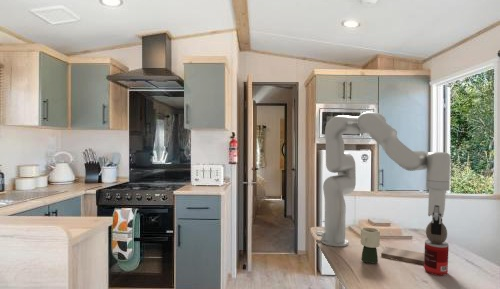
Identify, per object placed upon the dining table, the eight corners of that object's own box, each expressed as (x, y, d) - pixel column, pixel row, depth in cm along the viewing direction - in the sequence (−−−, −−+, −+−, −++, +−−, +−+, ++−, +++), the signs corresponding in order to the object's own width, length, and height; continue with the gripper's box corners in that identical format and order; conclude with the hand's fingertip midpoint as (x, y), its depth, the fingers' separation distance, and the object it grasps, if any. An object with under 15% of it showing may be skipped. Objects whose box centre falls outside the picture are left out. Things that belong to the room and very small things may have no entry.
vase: (450, 245, 117) (450, 221, 117) (429, 244, 119) (429, 220, 119) (442, 239, 124) (443, 217, 124) (423, 238, 126) (423, 215, 125)
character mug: (367, 256, 137) (368, 225, 136) (384, 261, 131) (385, 229, 131) (354, 262, 129) (355, 230, 129) (371, 268, 124) (372, 234, 124)
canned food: (448, 270, 123) (448, 241, 123) (447, 277, 116) (448, 247, 116) (425, 265, 127) (425, 237, 127) (423, 272, 120) (423, 243, 120)
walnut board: (381, 256, 136) (381, 253, 136) (385, 249, 145) (385, 246, 145) (424, 264, 128) (424, 261, 128) (426, 257, 136) (426, 253, 136)
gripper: (427, 182, 130) (426, 224, 131) (424, 187, 116) (423, 235, 116) (449, 183, 126) (448, 227, 127) (449, 189, 112) (448, 239, 112)
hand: (436, 231), depth 121 cm, fingers open, 9 cm apart
